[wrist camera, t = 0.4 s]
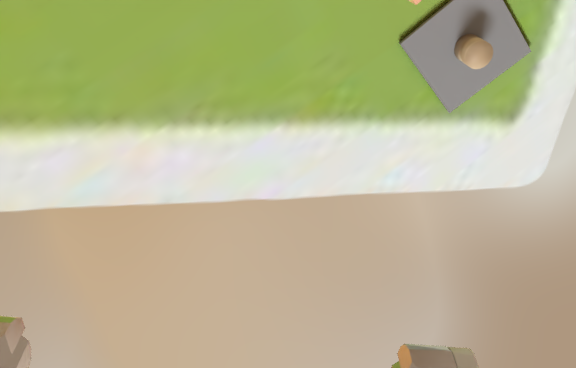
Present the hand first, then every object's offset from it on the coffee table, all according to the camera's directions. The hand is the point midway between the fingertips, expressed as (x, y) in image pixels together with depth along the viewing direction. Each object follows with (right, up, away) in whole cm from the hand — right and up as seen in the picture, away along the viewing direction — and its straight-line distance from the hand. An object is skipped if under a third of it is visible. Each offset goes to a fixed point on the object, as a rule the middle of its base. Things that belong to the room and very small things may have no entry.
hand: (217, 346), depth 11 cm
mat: (+21, +19, +44) cm, 52 cm away
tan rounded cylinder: (+22, +19, +44) cm, 52 cm away
